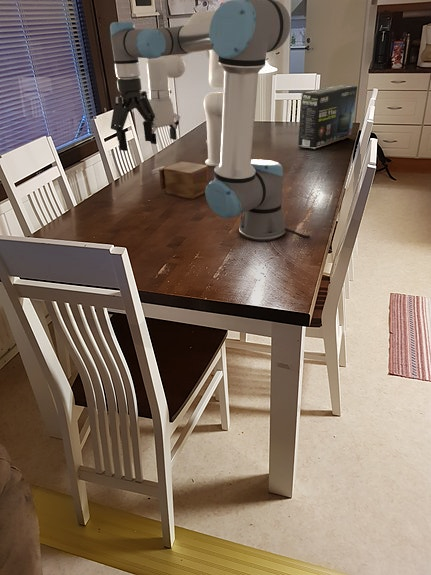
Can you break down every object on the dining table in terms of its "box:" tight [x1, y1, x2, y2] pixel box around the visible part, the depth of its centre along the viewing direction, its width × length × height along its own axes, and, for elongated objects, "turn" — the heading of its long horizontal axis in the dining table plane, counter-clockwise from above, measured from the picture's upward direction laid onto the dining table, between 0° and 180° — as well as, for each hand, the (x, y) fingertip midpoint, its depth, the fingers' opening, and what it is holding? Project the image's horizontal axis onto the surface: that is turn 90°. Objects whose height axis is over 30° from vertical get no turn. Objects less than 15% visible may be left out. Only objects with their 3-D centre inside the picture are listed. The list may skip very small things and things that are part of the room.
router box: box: [297, 84, 358, 151], centre depth 238 cm, size 36×11×27 cm, turn 134°
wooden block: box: [164, 160, 210, 200], centre depth 183 cm, size 13×11×10 cm
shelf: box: [151, 162, 177, 190], centre depth 187 cm, size 18×10×8 cm, turn 55°
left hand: (163, 141), depth 180 cm, fingers open, 9 cm apart
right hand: (136, 145), depth 157 cm, fingers open, 13 cm apart
